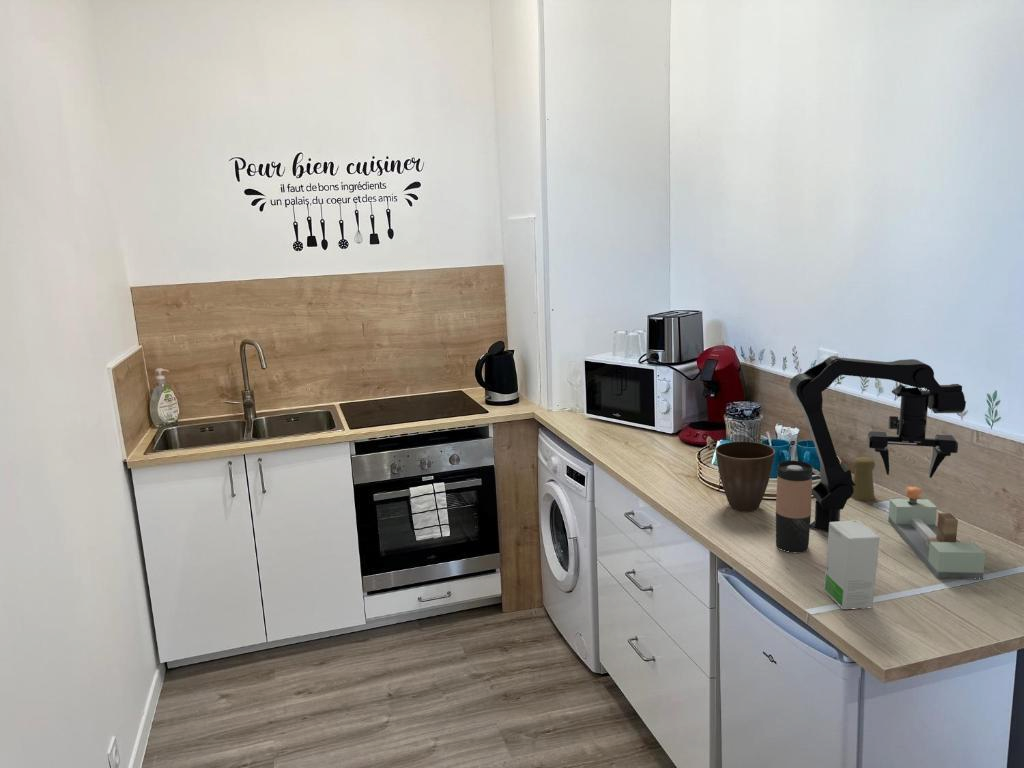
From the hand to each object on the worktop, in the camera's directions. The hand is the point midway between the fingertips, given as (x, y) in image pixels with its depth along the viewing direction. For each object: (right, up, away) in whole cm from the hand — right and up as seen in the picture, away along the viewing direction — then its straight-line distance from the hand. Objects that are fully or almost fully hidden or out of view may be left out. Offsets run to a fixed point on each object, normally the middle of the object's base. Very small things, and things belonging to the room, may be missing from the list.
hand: (908, 475), depth 183 cm
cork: (-1, -9, +23) cm, 24 cm away
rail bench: (+1, -15, -9) cm, 18 cm away
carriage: (-1, -14, -16) cm, 22 cm away
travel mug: (-30, -16, -5) cm, 35 cm away
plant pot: (-34, -11, +20) cm, 41 cm away
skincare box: (-28, -22, -30) cm, 46 cm away
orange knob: (+2, -7, +2) cm, 8 cm away
